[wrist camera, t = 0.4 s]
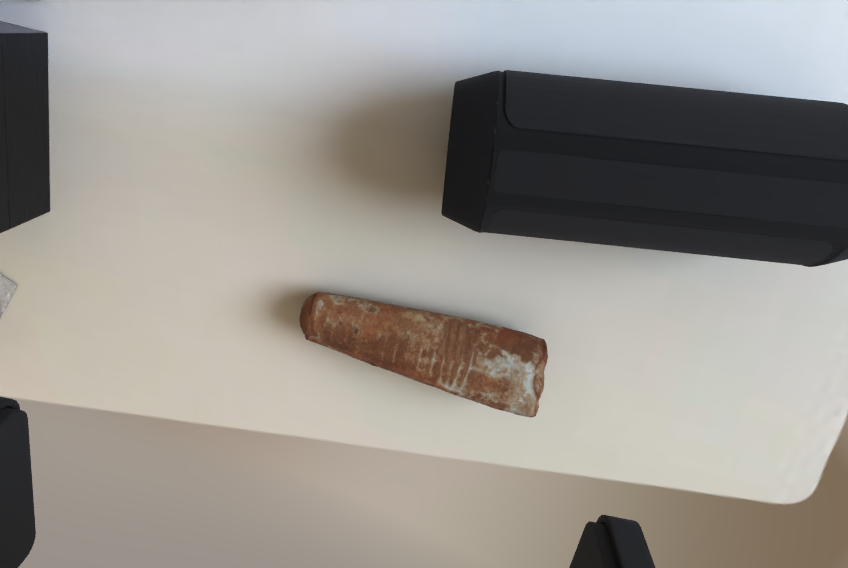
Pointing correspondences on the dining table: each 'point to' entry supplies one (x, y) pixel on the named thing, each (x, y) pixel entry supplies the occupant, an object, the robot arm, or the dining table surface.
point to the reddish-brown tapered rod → (433, 349)
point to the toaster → (23, 125)
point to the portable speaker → (649, 167)
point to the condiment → (5, 292)
